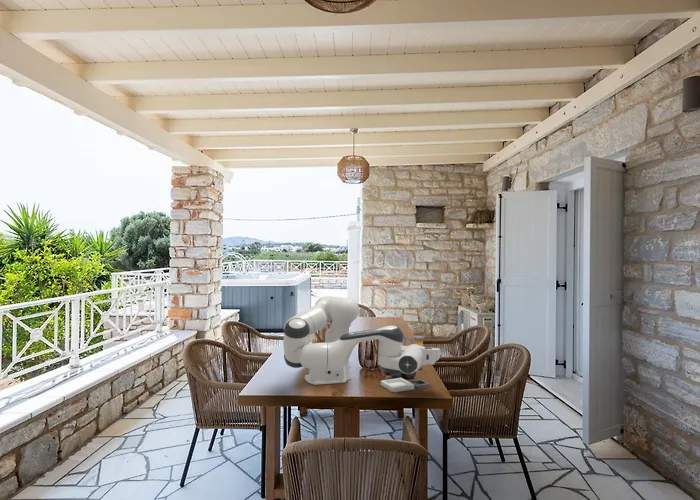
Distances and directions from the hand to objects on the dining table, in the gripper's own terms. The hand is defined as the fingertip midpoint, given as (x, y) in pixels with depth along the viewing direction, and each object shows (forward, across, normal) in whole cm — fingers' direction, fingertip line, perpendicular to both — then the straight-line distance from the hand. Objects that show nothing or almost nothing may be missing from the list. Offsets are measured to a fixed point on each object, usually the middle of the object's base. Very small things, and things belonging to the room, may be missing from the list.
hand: (419, 348), depth 182 cm
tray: (-6, -9, -17) cm, 20 cm away
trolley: (+9, -11, -17) cm, 22 cm away
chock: (+1, -14, -17) cm, 22 cm away
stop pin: (-1, 0, -6) cm, 7 cm away
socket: (-1, 0, -17) cm, 17 cm away
